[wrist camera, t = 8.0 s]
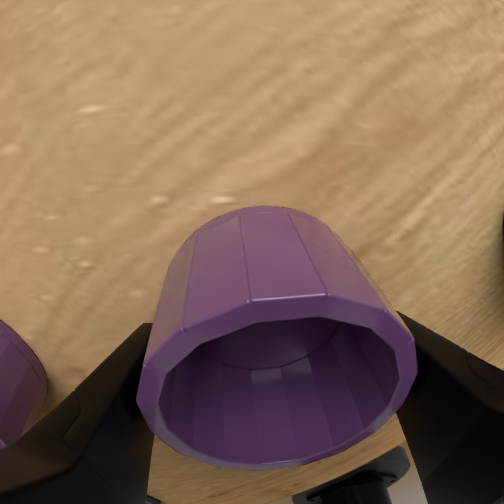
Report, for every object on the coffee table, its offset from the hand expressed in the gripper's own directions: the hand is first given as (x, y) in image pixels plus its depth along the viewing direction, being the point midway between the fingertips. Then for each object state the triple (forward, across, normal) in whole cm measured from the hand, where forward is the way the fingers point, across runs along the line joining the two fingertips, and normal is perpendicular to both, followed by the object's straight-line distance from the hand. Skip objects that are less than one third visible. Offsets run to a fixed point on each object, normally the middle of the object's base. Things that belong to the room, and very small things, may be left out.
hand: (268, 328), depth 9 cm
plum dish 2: (+2, 0, 0) cm, 2 cm away
